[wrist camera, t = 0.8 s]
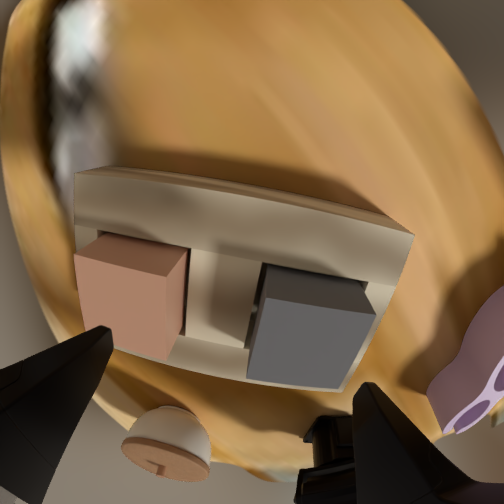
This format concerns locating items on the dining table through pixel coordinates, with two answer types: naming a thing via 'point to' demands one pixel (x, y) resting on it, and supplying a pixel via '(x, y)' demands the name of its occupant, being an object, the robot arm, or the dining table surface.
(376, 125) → the dining table surface
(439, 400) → the mauve piece
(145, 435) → the lidded jar
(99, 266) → the terracotta button
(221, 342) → the button console
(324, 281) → the charcoal button
